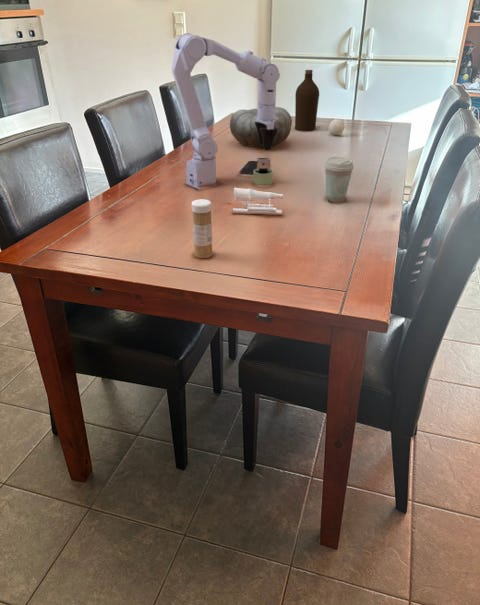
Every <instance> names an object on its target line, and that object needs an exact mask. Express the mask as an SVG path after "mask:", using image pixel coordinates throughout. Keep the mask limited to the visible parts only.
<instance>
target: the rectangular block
mask: <svg viewBox="0 0 480 605" xmlns="http://www.w3.org/2000/svg"><path fill="white" fill-rule="evenodd" d="M256 161H257V173H260V174H267V173H270V169H271V158H270V157H257V158H256Z"/></svg>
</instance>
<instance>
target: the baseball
mask: <svg viewBox="0 0 480 605" xmlns="http://www.w3.org/2000/svg"><path fill="white" fill-rule="evenodd" d="M344 130H345V123H344V122H343V120H342V119H339V118H334V119H332V120H331V121H330V122H329V124H328V132H329V134H330V135H333V136H340V135H341V134H342V133H343V132H344Z"/></svg>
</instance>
